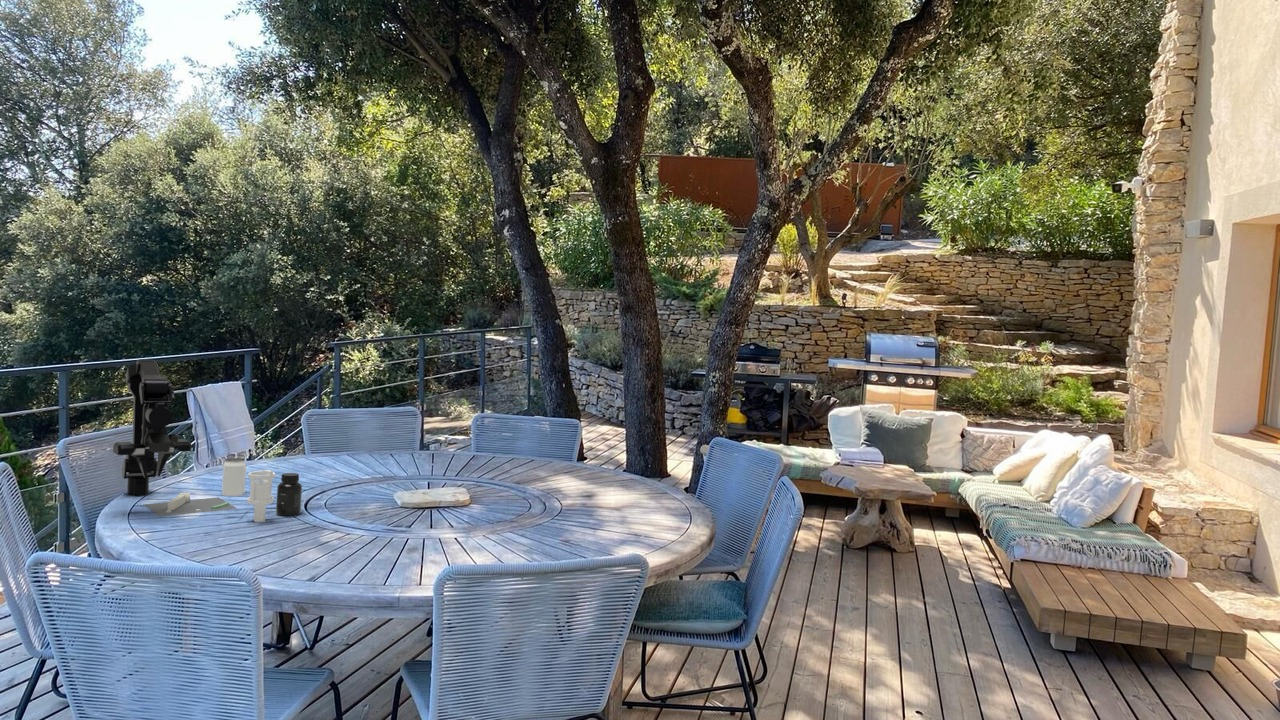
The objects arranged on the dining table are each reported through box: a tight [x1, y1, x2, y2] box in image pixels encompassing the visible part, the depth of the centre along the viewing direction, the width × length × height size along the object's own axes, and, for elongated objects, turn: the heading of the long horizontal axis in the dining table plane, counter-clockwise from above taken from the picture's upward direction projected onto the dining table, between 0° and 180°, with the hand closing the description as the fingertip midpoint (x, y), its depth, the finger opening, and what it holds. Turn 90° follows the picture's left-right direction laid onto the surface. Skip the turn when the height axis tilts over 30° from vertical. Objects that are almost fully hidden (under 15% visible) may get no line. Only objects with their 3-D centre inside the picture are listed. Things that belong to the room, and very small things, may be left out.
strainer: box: [246, 469, 276, 523], centre depth 246 cm, size 7×7×15 cm
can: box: [221, 457, 247, 497], centre depth 271 cm, size 6×6×12 cm
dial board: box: [142, 497, 238, 518], centre depth 252 cm, size 16×21×2 cm
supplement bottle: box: [275, 472, 303, 517], centre depth 256 cm, size 7×7×12 cm
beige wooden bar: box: [167, 492, 191, 510], centre depth 252 cm, size 13×3×2 cm, turn 10°
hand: (151, 476), depth 243 cm, fingers open, 3 cm apart
